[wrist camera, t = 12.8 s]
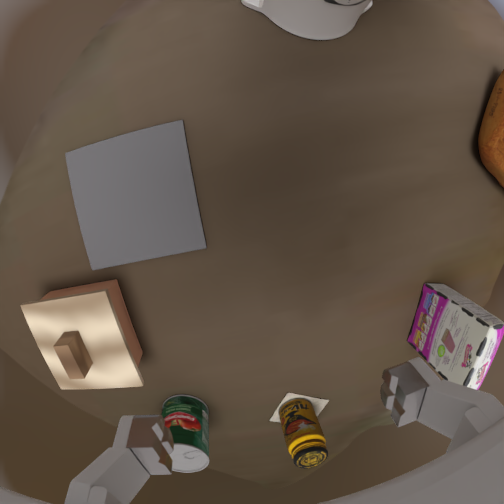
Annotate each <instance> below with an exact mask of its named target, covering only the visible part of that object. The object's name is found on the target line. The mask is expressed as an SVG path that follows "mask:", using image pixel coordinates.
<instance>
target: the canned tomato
mask: <svg viewBox="0 0 504 504" xmlns="http://www.w3.org/2000/svg"><path fill="white" fill-rule="evenodd" d="M208 415H209V410H208V407H207V405H206V404H205V403H204V402H203V401H202V400H200V399H199V398H197V397H194V396H191V395H183V394H181V395H174V396H171V397H169V398H168V399H166V400H165V402H164V404H163V408H162V417H163V418H164V420H165V425H164V426H166V427H168V428H169V429H170V431H171V433H172V436H173V442H174V450H173V452H172V453H171V454H170V457H171V459H172V460H173V462H172V470H173V471H178V472H185V473H190V472H197V471H200V470H202V469H204V468H206V467H207V466H208V464H209V425H208V424H209V418H208Z"/></svg>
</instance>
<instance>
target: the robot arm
mask: <svg viewBox="0 0 504 504" xmlns="http://www.w3.org/2000/svg"><path fill="white" fill-rule="evenodd" d="M241 2H242V4H243V5H245V6H247V7H249V8H251V9H254V10H256V11H259V12H262V13H263V14H265V15H266V16H267V17H268V18H269V19H270V20H272V21H273V22H274V23H275V24H276V25H278V26H279V27H281V28H282V29H284V30H286V31H288V32H290V33H292V34H295V35H297V36H300V37H304V38H308V39H314V40H329V39H335V38H338V37H341V36H343V35H345V34H347V33H348V32H349V31H350V30H352V28H353V27H354V26H355V24H356V22H357V20H358V18H359V17H360V15H361V14H362V13H364V12H366V11H367V10H368V9H369V8H370V7H371V6H372V0H241ZM382 378H383V380H384V383H383V384H382V385H381V390H380V393H381V399H382V402H383V404H384V406H385V407H386V408H387V409H390V410H392V412H391V417H392V419H393V420H394V422H395V424H396V425H397V427H400V426H403V425H405V424H408V423H410V422H413V421H415V420H417V421H418V422H420V423H422V424H424V425H426V426H428V427H430V428H432V429H433V430H435V431H437V432H439V433H441V434H443V435H445V436H447V437H449V438H451V439H452V441H451V443H450V445H449V447H448V449H447V451H446V452H447V453H446V454H445V455H443V456H441V457H439V458H437V459H435V460H433V461H431V462H429V463H427V464H425V465H423V466H421V467H419V468H417V469H415V470H412V471H410V472H408V473H406V474H403V475H401V476H399V477H396V478H394V479H392V480H389V481H387V482H384V483H382V484H379V485H376V486H373V487H371V488H368V489H365V490H362V491H359V492H356V493H353V494H350V495H347V496H344V497H340V498H337V499H334V500H330V501H326V502H322V503H318V504H504V406H503V405H502V404H501V403H500V402H499V401H498V400H497V399H496V398H495V397H494V396H493V395H492V394H489V393H485V392H482V391H479V390H476V389H472V388H469V387H466V386H463V385H460V384H456V383H453V382H450V381H447V380H442V381H441V380H440V379H439V378H438V376H437V375H436V374H435V373H434V372H433V371H432V370H431V369H430V367H429V366H428V365H427V364H426V363H425V362H424V361H423V360H422V359H421V358H420V357H417V358H415V359H412V360H409V361H407V362H404V363H401V364H399V365H396V366H393V367H390V368H388V369H385V370H384V371H383V375H382ZM164 425H165V420H164V418H163V417H162V415H135V416H122V417H121V419H120V422H119V425H118V429H117V433H116V436H115V440H114V443H113V447H112V448H108V449H107V450H106V451H105V452H104V453H103V454H101V455H100V456H99V457H98V458H97V459H96V460H95V461H94V462H93V463H91V464H90V465H89V466H88V467H87V468H86V469H85V470H83V471H82V472H81V473H80V474H79V475H78V476H76V477H75V478H74V479H73V480H72V481H71V483H70V486H69V489H68V493H67V496H66V500H65V503H64V504H129V503H130V502H131V500H132V499H133V498H134V497H135V495H136V494H137V493H138V491H139V490H140V489H141V488H142V486H143V485H144V484H145V482H146V481H147V480H148V478H149V477H150V475H162V474H171V473H172V462H173V460H172V459H171V457H170V454H171V453H172V452H173V450H174V442H173V436H172V433H171V431H170V429H169V428H168V427H166V426H164ZM0 504H51V503H47V502H44V501H40V500H37V499H34V498H31V497H28V496H25V495H21V494H19V493H16V492H13V491H10V490H8V489H5V488H3V487H0Z"/></svg>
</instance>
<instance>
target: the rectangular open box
mask: <svg viewBox="0 0 504 504" xmlns="http://www.w3.org/2000/svg"><path fill="white" fill-rule="evenodd" d="M107 288H108V291H109V294H110V297H111V300H112V303H113V306H114V309H115V312H116V314H117V317H118V320H119V322H120V325H121V328H122V330H123V333H124V336H125V338H126V341H127V343H128V346H129V348H130V350H131V353H132V355H133V358H134V360H135V362H136V365H137V367H138V366H139V363H140V360H141V357H142V354H143V352H142V349H141V346H140V344H139V341H138V339H137V336H136V333H135V331H134V328H133V325H132V323H131V320H130V317H129V314H128V311H127V308H126V306H125V303H124V300H123V297H122V294H121V290H120V287H119V284H118V281H117V279H114V280H109V281H103V282H98V283H93V284H87V285H82V286H76V287H71V288H66V289H60V290H55V291H50V292H48V293H47V294H46V295H45V296H44V297H43V298H42V299H41V300H44V299H50V298H55V297H61V296H67V295H73V294H79V293H84V292H90V291H96V290H101V289H107Z"/></svg>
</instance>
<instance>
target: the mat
mask: <svg viewBox="0 0 504 504" xmlns="http://www.w3.org/2000/svg"><path fill="white" fill-rule="evenodd" d="M65 155H66V161H67V167H68V173H69V178H70V184H71V189H72V194H73V198H74V203H75V208H76V212H77V216H78V220H79V224H80V228H81V232H82V236H83V240H84V244H85V247H86V251H87V254H88V258H89V261H90V264H91V268H92V270H97V269H102V268H107V267H112V266H117V265H122V264H127V263H132V262H137V261H142V260H147V259H152V258H157V257H163V256H168V255H173V254H178V253H183V252H188V251H194V250H199V249H204V248H207V246H206V241H205V237H204V232H203V227H202V222H201V217H200V212H199V207H198V202H197V196H196V191H195V186H194V181H193V175H192V170H191V164H190V159H189V153H188V147H187V142H186V136H185V130H184V124H183V120H179V121H175V122H170V123H166V124H162V125H158V126H153V127H149V128H146V129H142V130H138V131H134V132H131V133H127V134H123V135H120V136H117V137H113V138H110V139H107V140H103V141H100V142H97V143H94V144H91V145H88V146H85V147H82V148H79V149H76V150H73V151H71V152H68V153H65Z"/></svg>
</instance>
